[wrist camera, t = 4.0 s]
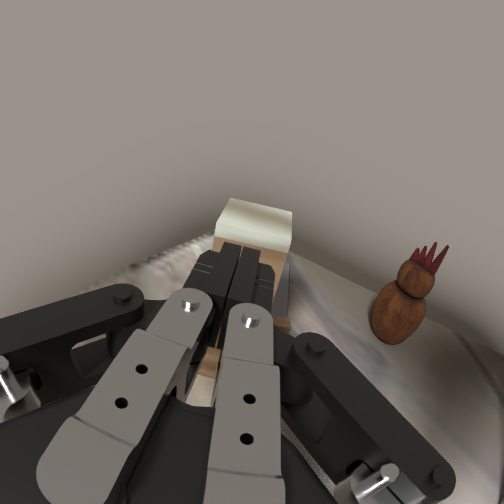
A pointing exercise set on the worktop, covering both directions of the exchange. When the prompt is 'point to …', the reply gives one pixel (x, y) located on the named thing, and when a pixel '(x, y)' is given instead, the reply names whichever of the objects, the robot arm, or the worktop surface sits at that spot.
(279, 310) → the rubber mat
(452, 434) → the worktop surface
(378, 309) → the wooden figurine
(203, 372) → the wooden block
